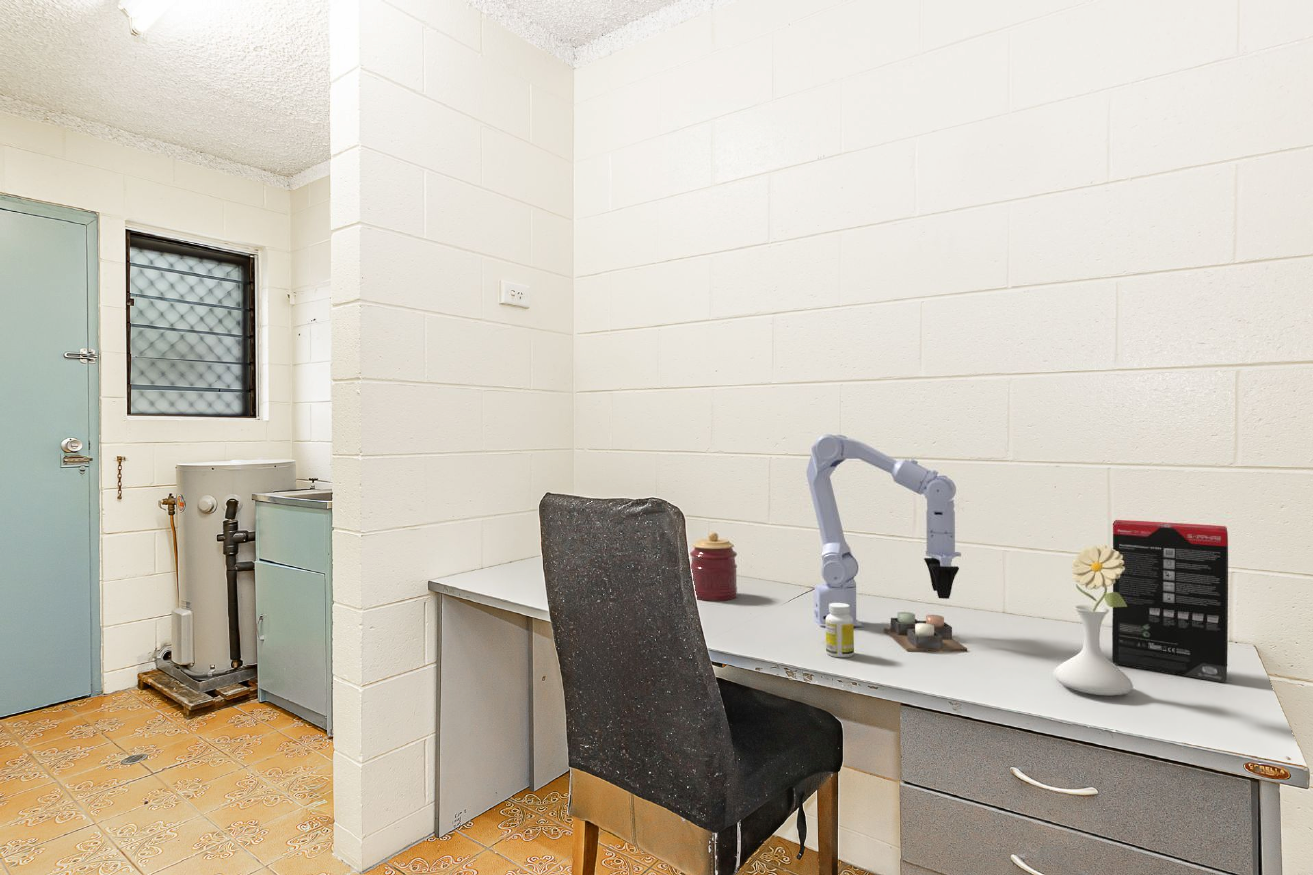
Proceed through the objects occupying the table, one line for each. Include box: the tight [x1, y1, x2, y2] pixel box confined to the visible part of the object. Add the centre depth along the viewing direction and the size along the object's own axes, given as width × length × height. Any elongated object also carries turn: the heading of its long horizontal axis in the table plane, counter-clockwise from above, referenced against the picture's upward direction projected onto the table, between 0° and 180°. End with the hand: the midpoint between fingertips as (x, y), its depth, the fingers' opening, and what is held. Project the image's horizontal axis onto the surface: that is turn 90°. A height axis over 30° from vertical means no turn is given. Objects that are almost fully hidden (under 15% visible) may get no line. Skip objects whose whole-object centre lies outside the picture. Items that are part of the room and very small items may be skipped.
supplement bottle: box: [825, 603, 855, 659], centre depth 136 cm, size 5×5×10 cm
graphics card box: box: [1111, 519, 1229, 683], centre depth 125 cm, size 17×7×27 cm, turn 53°
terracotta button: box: [925, 614, 945, 627], centre depth 147 cm, size 4×4×3 cm
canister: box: [689, 531, 738, 602], centre depth 188 cm, size 13×13×18 cm
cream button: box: [915, 623, 934, 636], centre depth 140 cm, size 4×4×3 cm
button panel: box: [883, 617, 968, 653], centre depth 145 cm, size 12×15×3 cm
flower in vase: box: [1053, 544, 1134, 697], centre depth 115 cm, size 13×11×25 cm
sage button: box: [897, 611, 916, 624], centre depth 149 cm, size 4×4×3 cm
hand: (941, 594), depth 148 cm, fingers open, 7 cm apart
